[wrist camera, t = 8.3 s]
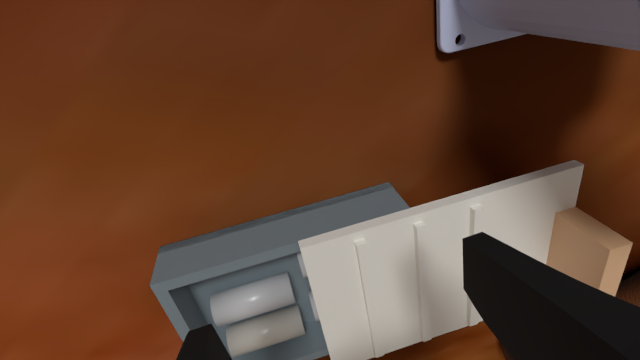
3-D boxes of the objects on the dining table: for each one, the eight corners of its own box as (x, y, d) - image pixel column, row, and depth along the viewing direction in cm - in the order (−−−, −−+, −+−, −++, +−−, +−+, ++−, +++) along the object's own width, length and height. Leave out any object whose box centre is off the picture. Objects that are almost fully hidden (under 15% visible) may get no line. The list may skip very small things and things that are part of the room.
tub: (388, 182, 21) (410, 208, 18) (399, 291, 25) (418, 324, 23) (159, 246, 19) (149, 285, 17) (214, 350, 24) (213, 392, 21)
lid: (553, 149, 20) (648, 196, 15) (533, 274, 25) (601, 338, 20) (293, 224, 18) (314, 301, 14) (325, 342, 23) (349, 427, 19)
